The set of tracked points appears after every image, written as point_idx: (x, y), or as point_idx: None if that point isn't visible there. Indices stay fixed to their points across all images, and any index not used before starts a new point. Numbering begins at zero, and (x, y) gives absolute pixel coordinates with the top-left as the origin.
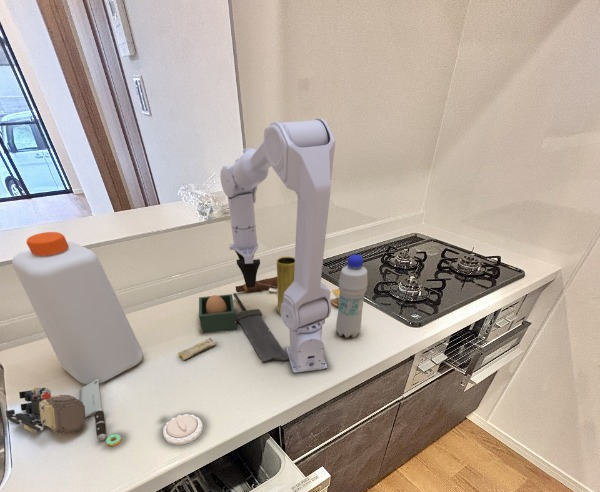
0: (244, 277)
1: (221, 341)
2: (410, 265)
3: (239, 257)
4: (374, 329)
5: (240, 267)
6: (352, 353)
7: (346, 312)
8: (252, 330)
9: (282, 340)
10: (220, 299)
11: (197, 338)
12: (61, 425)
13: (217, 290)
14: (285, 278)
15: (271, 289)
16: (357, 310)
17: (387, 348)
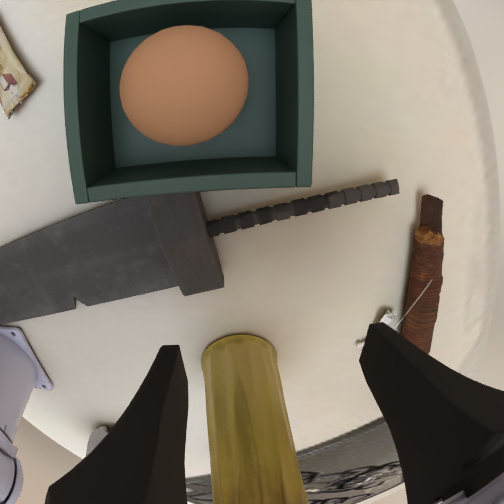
0: (129, 406)
1: (37, 124)
2: (352, 484)
3: (445, 405)
4: None
5: (59, 485)
6: (51, 420)
7: None
8: (66, 251)
9: (57, 325)
10: (158, 120)
11: None
12: None
13: (461, 121)
14: (212, 478)
15: (386, 322)
16: None
17: (82, 453)
